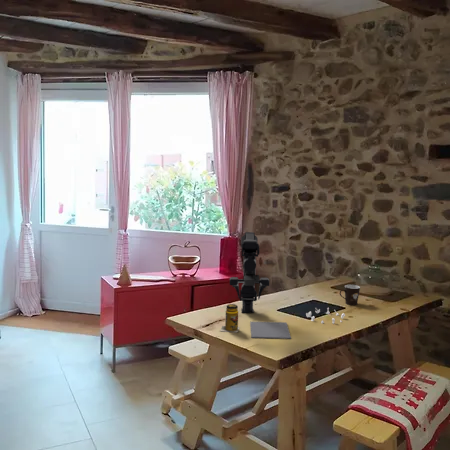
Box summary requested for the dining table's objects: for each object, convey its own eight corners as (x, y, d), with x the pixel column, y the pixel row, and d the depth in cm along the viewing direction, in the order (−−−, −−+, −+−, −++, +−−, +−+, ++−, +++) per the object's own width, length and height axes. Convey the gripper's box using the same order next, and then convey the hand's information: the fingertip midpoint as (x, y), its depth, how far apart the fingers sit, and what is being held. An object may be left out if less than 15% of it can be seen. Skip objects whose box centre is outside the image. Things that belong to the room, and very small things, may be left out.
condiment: (237, 332, 244) (238, 307, 242) (219, 331, 245) (220, 306, 243) (239, 327, 251) (240, 303, 249) (222, 326, 252) (222, 302, 251)
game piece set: (346, 315, 275) (346, 308, 274) (341, 326, 256) (342, 319, 256) (310, 311, 281) (310, 304, 281) (302, 321, 263) (302, 314, 262)
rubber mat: (250, 322, 259) (250, 321, 259) (286, 323, 258) (286, 322, 258) (251, 337, 237) (251, 336, 237) (290, 339, 236) (290, 337, 236)
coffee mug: (357, 302, 300) (358, 285, 298) (360, 306, 291) (361, 288, 290) (337, 301, 301) (338, 284, 300) (339, 305, 292) (340, 287, 291)
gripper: (229, 270, 238) (229, 303, 240) (270, 270, 237) (269, 304, 239) (229, 265, 249) (229, 297, 251) (268, 266, 249) (268, 297, 250)
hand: (249, 299), depth 248 cm, fingers open, 9 cm apart
